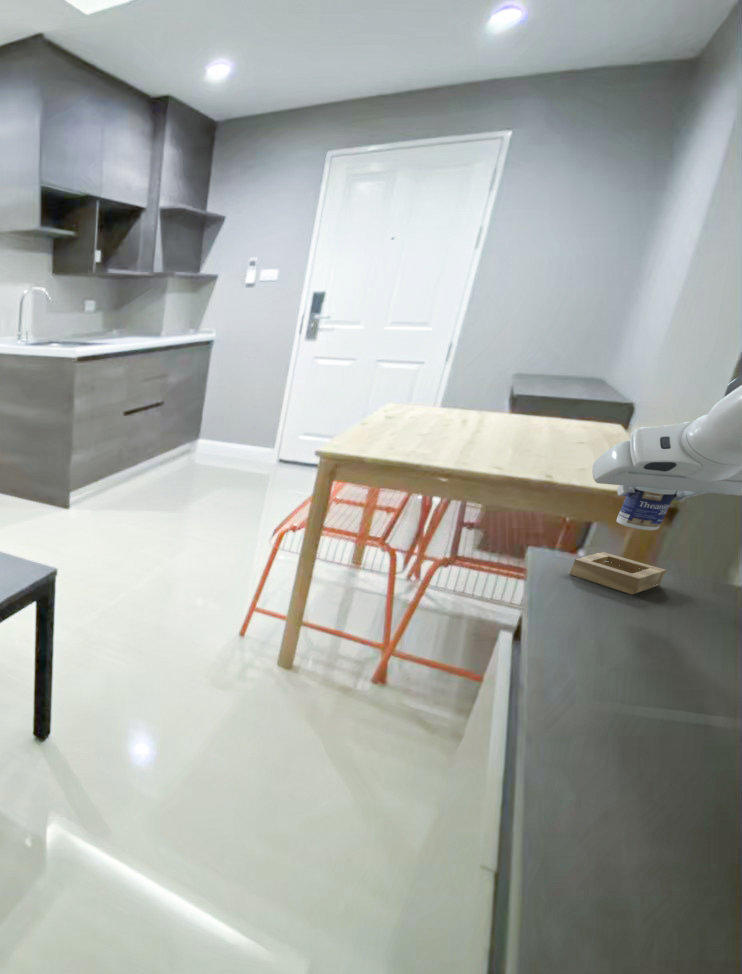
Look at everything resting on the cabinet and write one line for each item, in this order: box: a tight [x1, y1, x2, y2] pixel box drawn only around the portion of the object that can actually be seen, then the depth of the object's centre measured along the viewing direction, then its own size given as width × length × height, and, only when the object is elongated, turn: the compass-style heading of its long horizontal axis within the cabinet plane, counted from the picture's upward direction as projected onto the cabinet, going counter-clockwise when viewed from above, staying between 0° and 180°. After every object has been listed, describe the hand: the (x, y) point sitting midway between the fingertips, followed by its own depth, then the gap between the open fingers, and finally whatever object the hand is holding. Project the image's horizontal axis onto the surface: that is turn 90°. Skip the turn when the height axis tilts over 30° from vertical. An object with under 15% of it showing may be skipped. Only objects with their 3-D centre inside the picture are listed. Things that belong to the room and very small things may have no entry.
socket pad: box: [569, 551, 667, 595], centre depth 108 cm, size 9×9×3 cm
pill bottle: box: [615, 487, 676, 531], centre depth 102 cm, size 5×5×10 cm
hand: (647, 494), depth 103 cm, fingers closed on pill bottle, 5 cm apart
